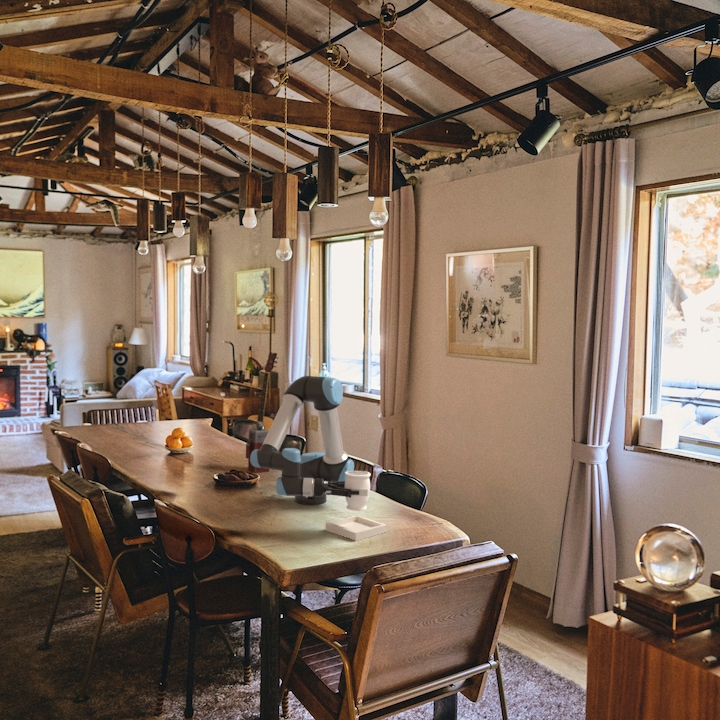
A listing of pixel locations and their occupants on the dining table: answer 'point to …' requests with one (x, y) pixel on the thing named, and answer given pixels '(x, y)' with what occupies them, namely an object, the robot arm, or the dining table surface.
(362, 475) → the jar
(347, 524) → the white square tray
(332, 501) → the dining table surface
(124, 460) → the dining table surface
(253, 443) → the toy vending machine
